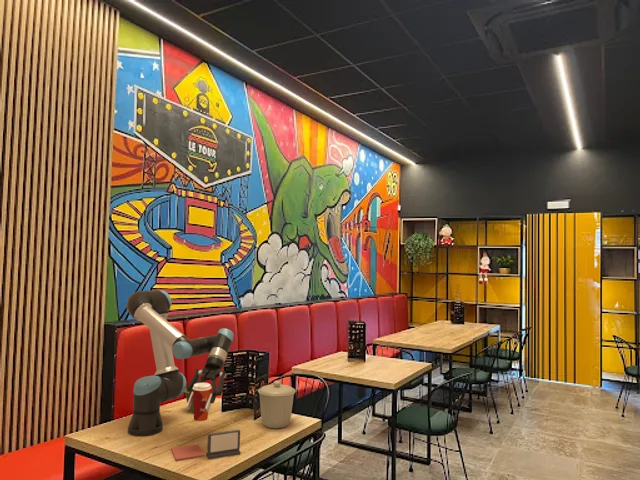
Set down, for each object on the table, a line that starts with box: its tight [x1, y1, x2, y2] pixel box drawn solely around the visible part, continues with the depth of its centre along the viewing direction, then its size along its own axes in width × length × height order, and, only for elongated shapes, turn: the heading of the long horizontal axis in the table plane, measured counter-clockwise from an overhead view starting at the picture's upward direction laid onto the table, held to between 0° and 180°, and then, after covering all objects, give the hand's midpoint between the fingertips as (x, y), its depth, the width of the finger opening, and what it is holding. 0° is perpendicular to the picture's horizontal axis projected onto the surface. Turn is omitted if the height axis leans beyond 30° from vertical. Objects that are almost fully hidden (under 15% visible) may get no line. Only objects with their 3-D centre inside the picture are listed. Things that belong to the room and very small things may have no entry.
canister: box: [257, 380, 296, 429], centre depth 226 cm, size 18×18×21 cm
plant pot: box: [184, 388, 194, 414], centre depth 243 cm, size 12×12×11 cm
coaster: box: [170, 443, 205, 462], centre depth 190 cm, size 12×11×1 cm
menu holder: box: [205, 429, 241, 460], centre depth 189 cm, size 4×13×9 cm, turn 116°
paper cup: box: [193, 382, 212, 422], centre depth 194 cm, size 8×8×14 cm
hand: (197, 408), depth 190 cm, fingers closed on paper cup, 8 cm apart
